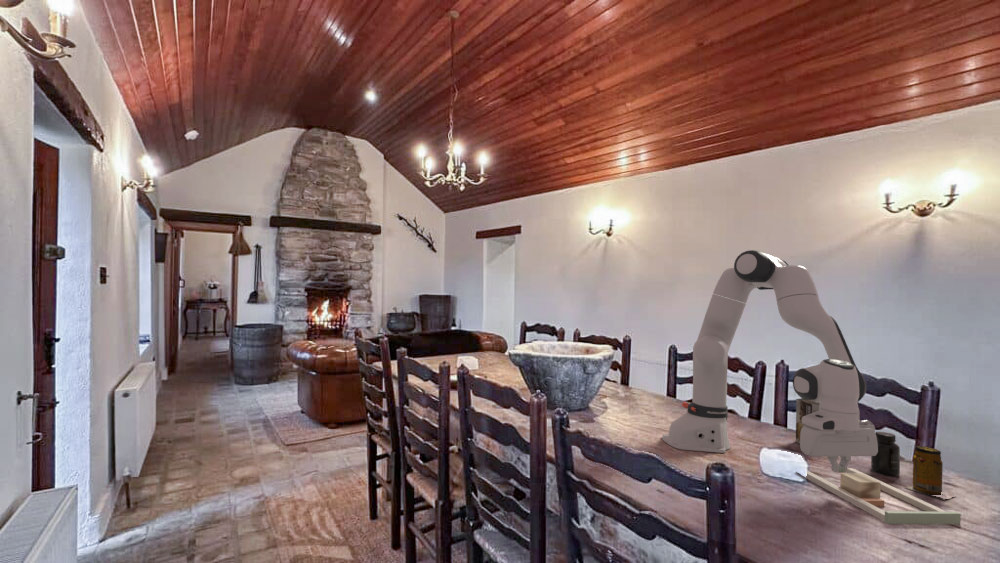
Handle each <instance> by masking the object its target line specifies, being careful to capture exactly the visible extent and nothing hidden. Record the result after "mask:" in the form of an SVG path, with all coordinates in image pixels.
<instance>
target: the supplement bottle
mask: <svg viewBox="0 0 1000 563" xmlns="http://www.w3.org/2000/svg"><path fill="white" fill-rule="evenodd" d="M875 433H876V437H877V444H878V453H877V454H876V456H870V457H871V458H870V462H871V463H870V464H871V465H870V466H871V470H872V471H873V472H874V473H876V474H878V475H882V476H888V477H899V476H900V474H901V449H900V446H899V445H898V444H897V443H896V441H897V440H896V435H895V434H893V433H890V432H885V431H875Z"/></svg>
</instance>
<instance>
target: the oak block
mask: <svg viewBox="0 0 1000 563" xmlns="http://www.w3.org/2000/svg"><path fill="white" fill-rule="evenodd" d="M866 475H867V474H866ZM866 475H863V474H861V473H847V472H846V473H840V483H839V484H840V486H839V487H840V488H842V489H843V490H845V491H847V492H849V493H851V494H853V495H855V496H857V497H859V498H880V499H881V489H880V486H881V482H878V481H876V480H874V479H872V478H870V477H868V476H866Z"/></svg>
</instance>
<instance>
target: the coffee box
mask: <svg viewBox="0 0 1000 563" xmlns="http://www.w3.org/2000/svg"><path fill="white" fill-rule="evenodd" d="M795 402H796V405H795V406H796V407H795V408H796V410H795V442H796V443H797V444H799V445H800V434H801V429H802V427H803V426H805V424H803V423H802V417H803V416H806V415H808V414H811V413H814V412H816V411H818V410H819V406H820V402H819V401H809V400H805V399H802V398H796V401H795Z"/></svg>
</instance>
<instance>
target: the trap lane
mask: <svg viewBox="0 0 1000 563" xmlns="http://www.w3.org/2000/svg"><path fill="white" fill-rule="evenodd" d="M806 470H807V469H806ZM846 473H861V474H863V475H866V476H868V477H870V478H872V479H874V480H876V481H878V482H881V486H880V491H883V492H885V493H886V494H888V495H892V496H893V497H895V498H897V499H900V500H902V501H904V502H905V503H909V504H910V505H913V506H914V507H916V508H918V509H921V510H922V511H918V510H917V511H913V510H912V511H911V510H909V511H906V510H884V509H881V508H880V507H885V500H883V499H882V498H881V497H880V498H859V497H857V496H855V495H853V494H851V493H849V492H847V491H845V490H843V489H842V488H840V486H837V485H836V484H834V483H832V482H830V481H828V480H827V479H825V478H822V477H821V476H819V475H817V474H815V473H813V472H812V471H809V470H807V476H806V478H805V479H807V480H808V481H810V482H812V483H814V484H816V485H818V486H820V487H821V488H823V489H825V490H827V491H828V492H830V493H832V494H834V495H836V496H837V497H839V498H840V499H842V500H843V501H844V500H845V501H846V502H848V503H849V504H852V505H853V506H856V507H858V508H859V509H861V510H862V511H865V512H866V513H868V514H870V515H872V516H874V517H876V518H877V519H879V520H881V521H882V522H884V523H886V524H888V525H961V519H962V518H961V517H962V516H961V515H962V514H961V513H960V512H958V511H946V510H944V509H942V508H940V507H938V506H936V505H933V504H931V503H929V502H926V500H922V499H921V498H918V497H916V496H914V495H912V494H909V493H907V492H906V491H903V490H901V489H899V488H897V487H894V486H892V485H890V484H888V483H885V482H883V481H882V480H879V479H877V478H875V477H874V476H873V477H872V476H870V475H868V474H866V473H865V472H862V471H860V470H858V469H855V468H852V467H851V468H850V467H847V472H846Z"/></svg>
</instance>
